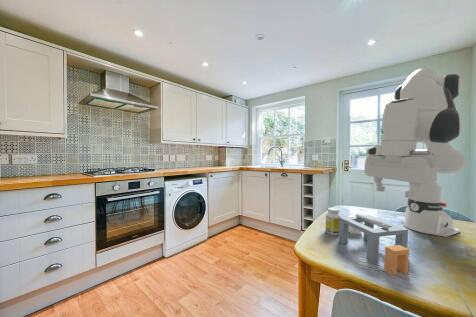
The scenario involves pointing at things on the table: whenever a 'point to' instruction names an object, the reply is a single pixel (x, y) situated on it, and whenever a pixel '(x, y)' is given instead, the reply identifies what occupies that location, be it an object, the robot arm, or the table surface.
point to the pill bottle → (332, 221)
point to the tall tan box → (396, 259)
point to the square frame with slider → (372, 232)
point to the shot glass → (353, 230)
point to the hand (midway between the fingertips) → (394, 194)
